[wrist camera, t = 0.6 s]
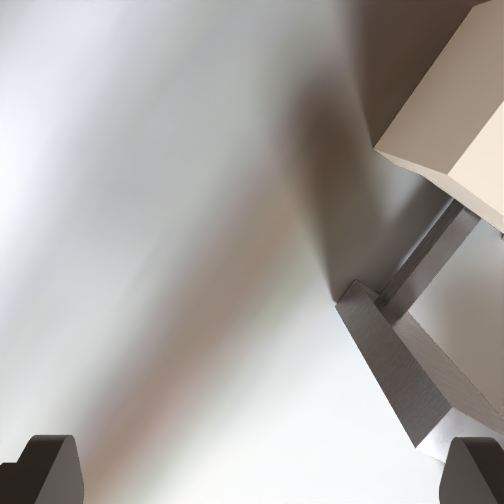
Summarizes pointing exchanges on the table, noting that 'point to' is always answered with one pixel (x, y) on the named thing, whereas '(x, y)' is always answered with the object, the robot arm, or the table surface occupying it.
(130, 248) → the table surface
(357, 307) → the tall gray rectangular post
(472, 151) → the cream bridge-shaped block
